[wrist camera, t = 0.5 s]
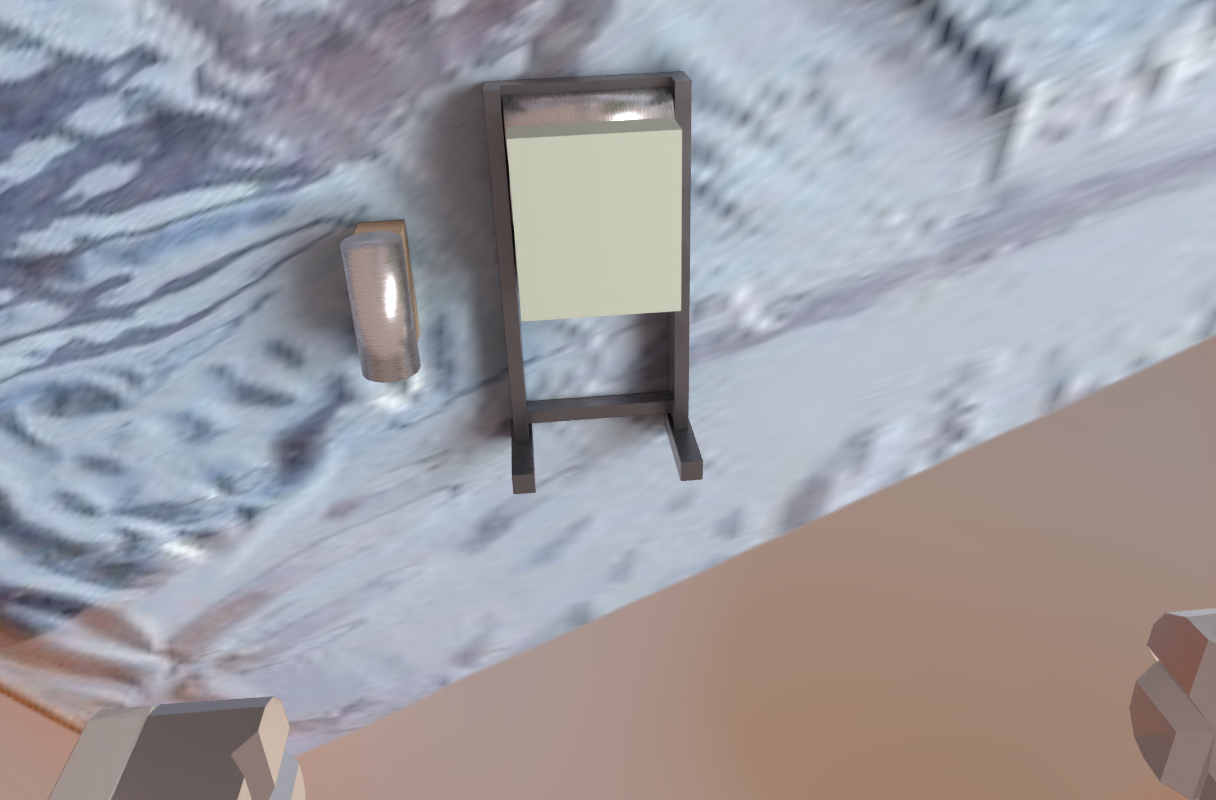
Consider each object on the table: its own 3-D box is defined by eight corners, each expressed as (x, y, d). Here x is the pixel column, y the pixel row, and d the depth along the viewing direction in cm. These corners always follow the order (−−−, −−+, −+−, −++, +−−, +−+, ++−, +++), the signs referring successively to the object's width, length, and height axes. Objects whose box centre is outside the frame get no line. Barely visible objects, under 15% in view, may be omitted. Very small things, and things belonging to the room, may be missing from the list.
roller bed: (479, 81, 48) (476, 107, 42) (687, 71, 48) (709, 95, 43) (513, 437, 57) (513, 494, 52) (684, 424, 58) (702, 479, 53)
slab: (506, 126, 45) (506, 138, 43) (673, 117, 46) (681, 129, 44) (520, 301, 50) (521, 321, 48) (673, 291, 50) (681, 310, 48)
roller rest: (358, 222, 50) (351, 238, 48) (404, 220, 51) (399, 235, 48) (376, 333, 53) (371, 353, 51) (419, 330, 54) (416, 349, 51)
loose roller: (344, 233, 48) (335, 253, 45) (405, 229, 48) (399, 249, 46) (366, 358, 51) (358, 384, 49) (422, 354, 52) (418, 380, 49)
